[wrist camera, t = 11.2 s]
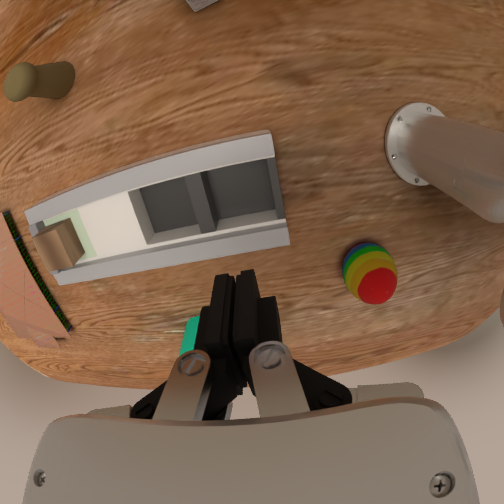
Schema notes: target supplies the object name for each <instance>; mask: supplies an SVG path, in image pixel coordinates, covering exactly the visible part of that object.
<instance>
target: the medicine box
mask: <svg viewBox="0 0 504 504" xmlns="http://www.w3.org/2000/svg"><path fill="white" fill-rule="evenodd" d="M217 1H219V0H186V2H187V3H188V4H189V6H190V7H191V8H192V10H193V11H194V12H197V11H199V10H201V9H203V8H205V7H207V6H209V5H211V4H212V3H215V2H217Z"/></svg>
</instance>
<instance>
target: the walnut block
mask: <svg viewBox="0 0 504 504" xmlns="http://www.w3.org/2000/svg"><path fill="white" fill-rule="evenodd" d="M32 240H33V243H34V245H35V247H36V249H37V251H38V253H39V255H40V257H41V259H42V261H43V263H44V265H45V267H46V269H47V271H48V272H51V271H55V270H60V269H64V268H68V267H73V266H74V265H75V264H76V263H77V261H78V260H79V259H80V258H81V257H82V256H83V255H84V253H85V251H84V248H83V246H82V244H81V242H80V240H79V237H78V235H77V233H76V230H75V228H74V226H73V223H72V221H71V218H67V219H65V220H62V221H59V222H56V223H54V224H51V225H48V226H46V227H44V228H43V229H42V230H41V231H39V232H38V233H37V234H36V235H35V236H34V237H32Z"/></svg>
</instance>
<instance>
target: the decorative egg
mask: <svg viewBox="0 0 504 504" xmlns="http://www.w3.org/2000/svg"><path fill="white" fill-rule="evenodd" d="M342 273H343V278H344V282H345V284H346V286H347V288H348V289H349V291H350V292H351V293H352V294H353V295H354V296H355V297H356V298H358V299H359V300H361V301H363V302H365V303H368V304H381V303H384V302H386V301H387V300H388V299H390V297H391V296H392V295H393V293H394V291H395V289H396V285H397V270H396V266H395V263H394V261H393V259H392V257H391V256H390V254H389V253H388V252H387V251H386V250H385V249H384V248H382V247H381V246H379V245H377V244H373V243H362V244H358V245H356V246H355V247H353V248H352V249H351V250H350V251H349V252H348V253H347V255H346V257H345V259H344V262H343V267H342Z"/></svg>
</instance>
